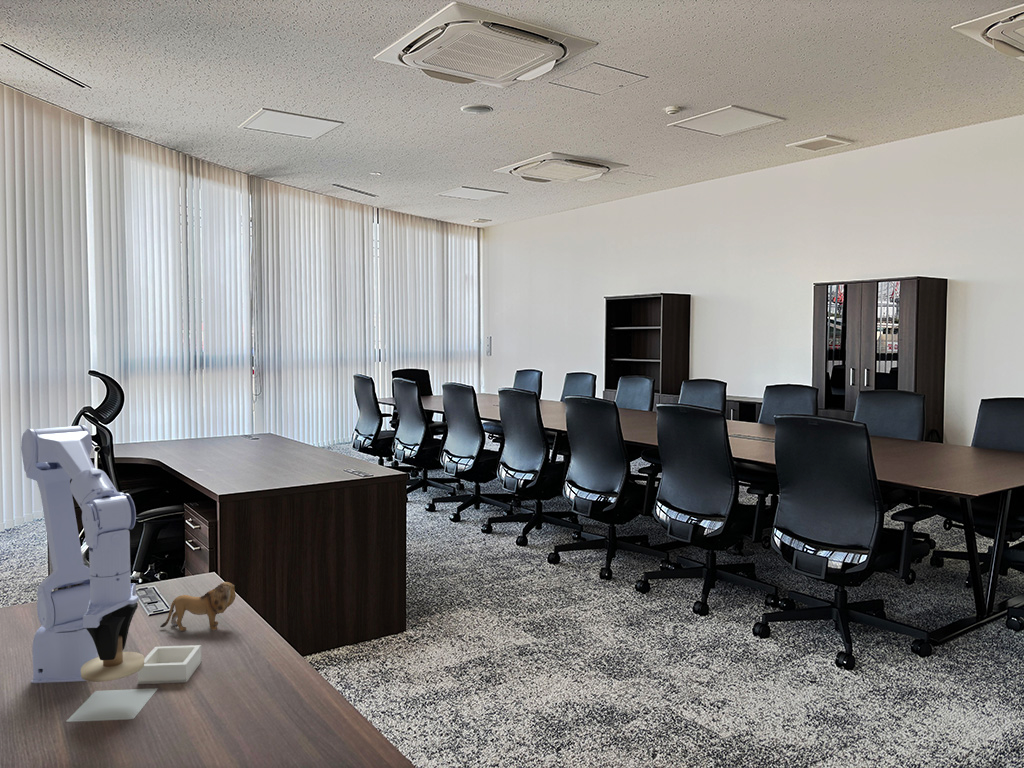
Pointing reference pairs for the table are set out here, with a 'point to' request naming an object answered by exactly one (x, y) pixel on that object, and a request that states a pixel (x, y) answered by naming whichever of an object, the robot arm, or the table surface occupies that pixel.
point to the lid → (113, 666)
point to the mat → (112, 705)
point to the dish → (170, 664)
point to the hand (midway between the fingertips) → (112, 654)
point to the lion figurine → (203, 605)
